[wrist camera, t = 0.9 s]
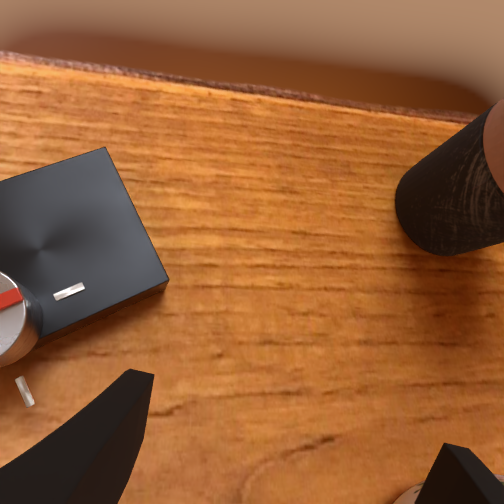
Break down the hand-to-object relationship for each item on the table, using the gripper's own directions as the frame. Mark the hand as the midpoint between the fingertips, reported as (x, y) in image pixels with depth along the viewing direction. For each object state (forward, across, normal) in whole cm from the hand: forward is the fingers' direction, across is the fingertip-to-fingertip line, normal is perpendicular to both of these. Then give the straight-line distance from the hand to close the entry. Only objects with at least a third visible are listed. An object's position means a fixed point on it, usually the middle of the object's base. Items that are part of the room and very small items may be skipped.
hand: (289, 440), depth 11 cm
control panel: (+12, +12, +5) cm, 18 cm away
